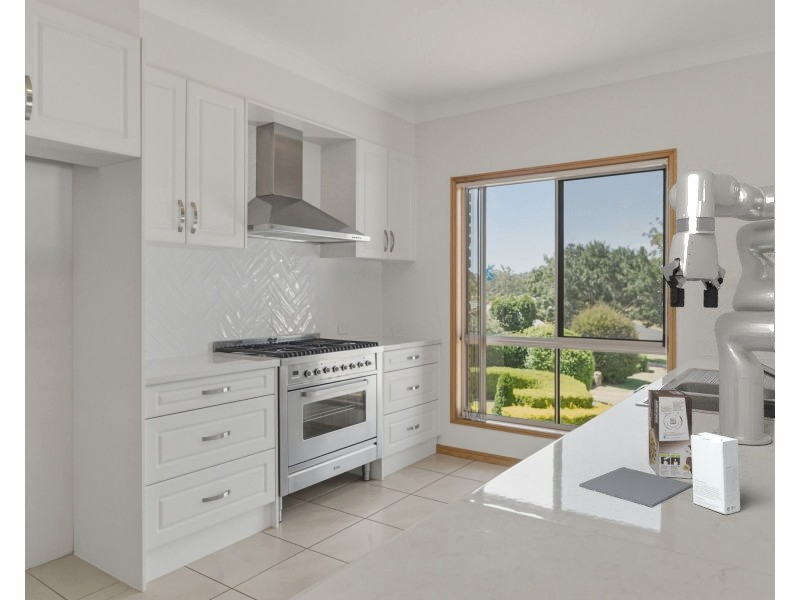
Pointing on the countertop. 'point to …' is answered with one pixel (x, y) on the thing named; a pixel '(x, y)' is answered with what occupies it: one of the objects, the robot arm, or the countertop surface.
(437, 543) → the countertop surface
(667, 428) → the coffee box
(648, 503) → the mat
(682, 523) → the countertop surface
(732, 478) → the skincare box
